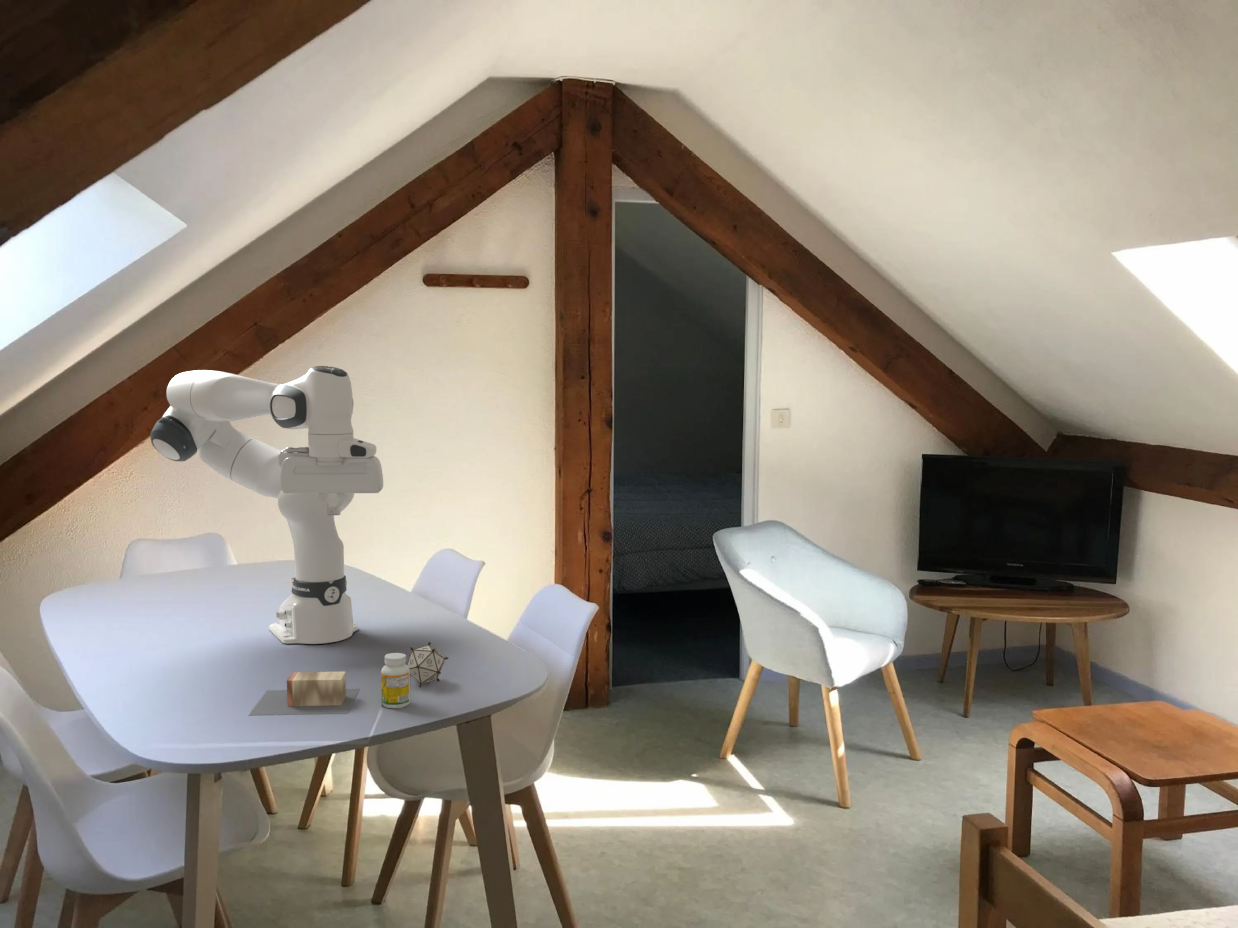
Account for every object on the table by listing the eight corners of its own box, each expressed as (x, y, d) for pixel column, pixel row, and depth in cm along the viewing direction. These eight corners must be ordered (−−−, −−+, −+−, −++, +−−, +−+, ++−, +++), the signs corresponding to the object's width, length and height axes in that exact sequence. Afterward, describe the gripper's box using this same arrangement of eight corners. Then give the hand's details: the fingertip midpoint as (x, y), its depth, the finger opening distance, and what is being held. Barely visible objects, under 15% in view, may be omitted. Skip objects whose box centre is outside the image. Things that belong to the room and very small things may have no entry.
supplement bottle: (406, 709, 198) (406, 660, 197) (378, 708, 198) (377, 659, 197) (412, 699, 204) (411, 651, 203) (385, 699, 204) (384, 651, 203)
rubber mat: (248, 718, 193) (248, 715, 192) (267, 693, 206) (267, 690, 206) (347, 716, 194) (347, 713, 194) (359, 691, 208) (359, 688, 208)
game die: (424, 697, 216) (434, 651, 221) (450, 691, 211) (459, 644, 216) (389, 684, 211) (400, 637, 216) (415, 677, 205) (425, 630, 210)
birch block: (286, 680, 197) (340, 679, 198) (292, 672, 202) (345, 671, 203) (287, 706, 197) (341, 705, 198) (293, 697, 202) (345, 696, 203)
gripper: (274, 448, 207) (276, 517, 208) (379, 448, 209) (380, 517, 210) (282, 445, 213) (284, 512, 215) (383, 445, 215) (385, 512, 216)
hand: (332, 514), depth 212 cm, fingers closed
